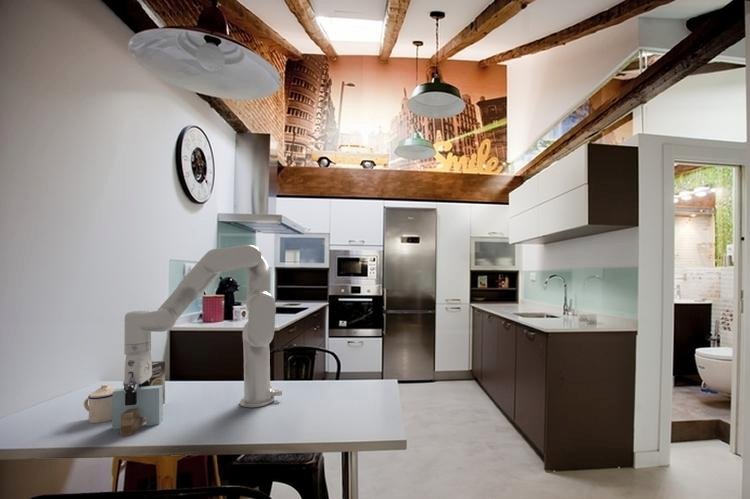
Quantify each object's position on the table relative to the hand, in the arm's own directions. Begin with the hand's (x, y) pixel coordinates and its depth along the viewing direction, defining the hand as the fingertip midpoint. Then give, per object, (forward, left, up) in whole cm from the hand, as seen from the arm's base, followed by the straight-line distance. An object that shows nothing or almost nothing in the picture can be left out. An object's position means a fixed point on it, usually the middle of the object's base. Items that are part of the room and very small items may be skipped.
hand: (137, 399), depth 121 cm
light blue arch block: (0, 0, -8) cm, 8 cm away
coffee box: (+3, -17, -8) cm, 19 cm away
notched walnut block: (0, 0, -8) cm, 8 cm away
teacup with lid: (+16, -10, -8) cm, 21 cm away
